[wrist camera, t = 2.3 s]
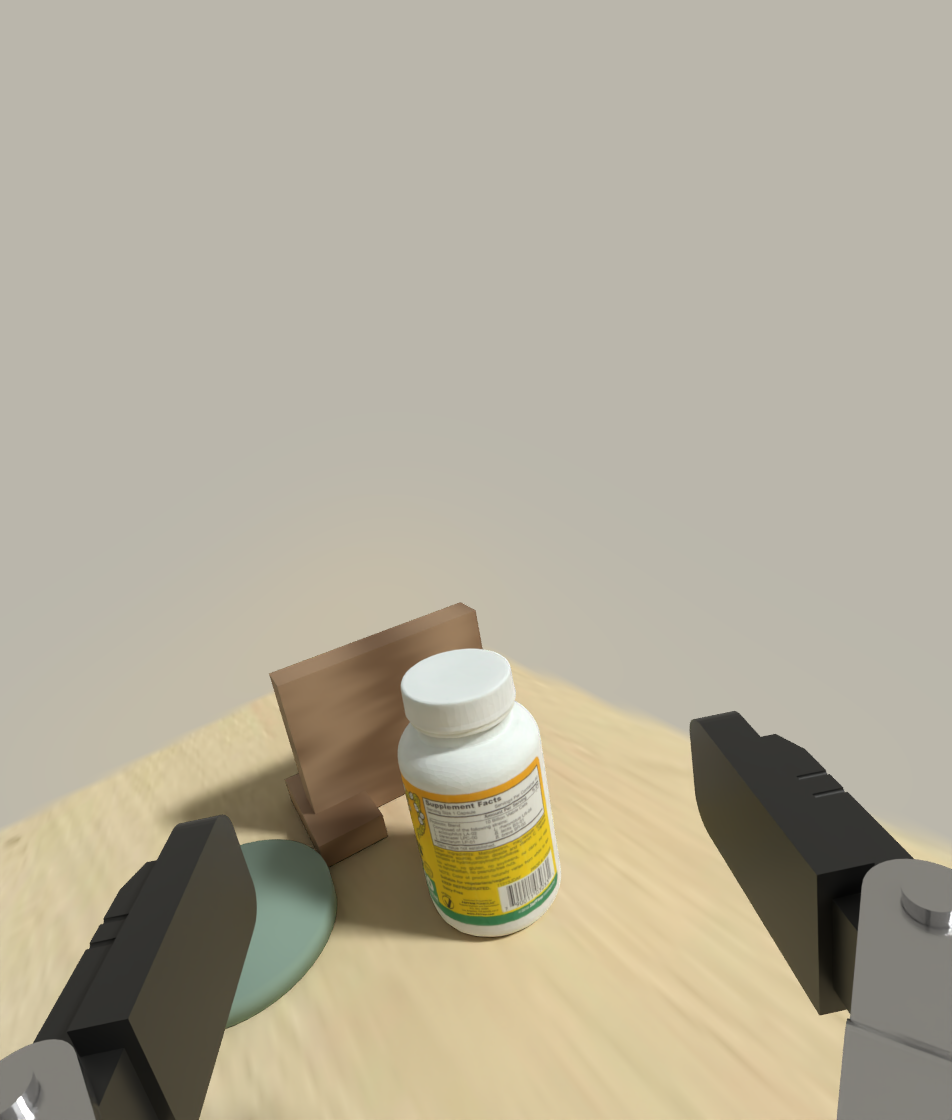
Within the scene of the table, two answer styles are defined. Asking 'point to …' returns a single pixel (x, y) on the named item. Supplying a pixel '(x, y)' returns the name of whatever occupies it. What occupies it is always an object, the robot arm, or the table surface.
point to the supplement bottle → (478, 793)
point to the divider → (357, 726)
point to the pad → (283, 922)
